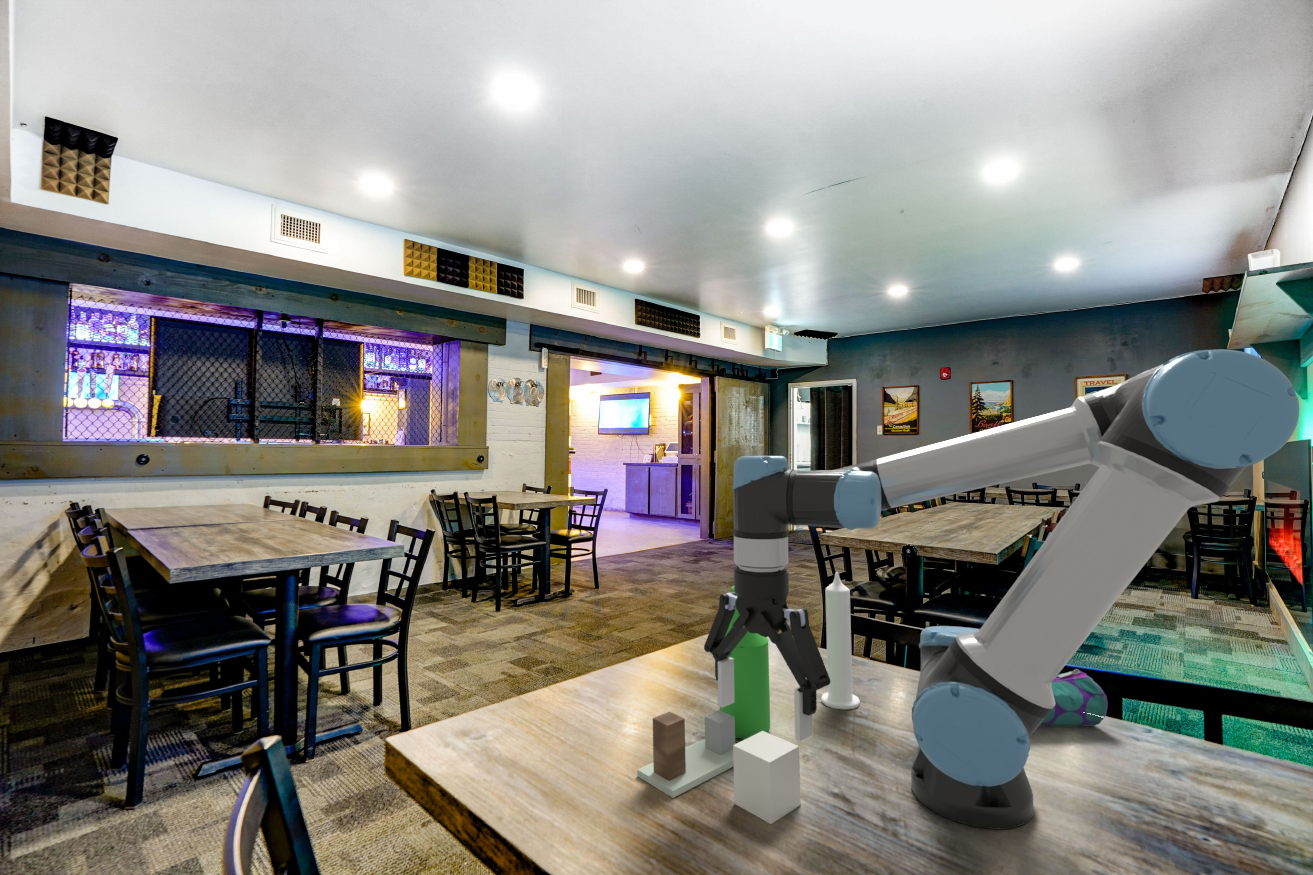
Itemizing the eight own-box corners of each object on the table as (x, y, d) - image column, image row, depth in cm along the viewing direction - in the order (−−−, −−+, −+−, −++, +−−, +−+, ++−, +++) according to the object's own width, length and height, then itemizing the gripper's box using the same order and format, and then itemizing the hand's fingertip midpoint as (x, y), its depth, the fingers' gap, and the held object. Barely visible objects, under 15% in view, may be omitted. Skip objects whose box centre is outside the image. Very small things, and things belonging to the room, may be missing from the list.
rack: (751, 756, 98) (750, 718, 98) (673, 797, 86) (672, 755, 87) (715, 739, 104) (714, 703, 104) (637, 775, 92) (636, 735, 93)
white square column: (800, 804, 84) (799, 746, 84) (771, 824, 80) (769, 762, 80) (764, 786, 89) (762, 730, 89) (734, 803, 85) (733, 745, 85)
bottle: (769, 743, 102) (766, 592, 102) (717, 739, 104) (714, 591, 104) (770, 720, 111) (767, 581, 111) (722, 716, 112) (719, 580, 113)
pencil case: (1072, 711, 112) (1070, 658, 112) (1110, 734, 103) (1108, 676, 103) (961, 716, 111) (959, 662, 111) (989, 739, 102) (987, 681, 102)
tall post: (685, 772, 91) (684, 718, 91) (668, 780, 89) (667, 725, 89) (670, 763, 94) (669, 711, 94) (653, 771, 92) (652, 718, 92)
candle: (863, 699, 119) (860, 570, 119) (854, 712, 113) (850, 576, 113) (827, 692, 123) (824, 567, 123) (816, 704, 117) (813, 573, 117)
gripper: (856, 576, 78) (858, 743, 78) (714, 551, 97) (715, 686, 97) (822, 585, 73) (824, 763, 73) (680, 557, 92) (681, 699, 92)
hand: (762, 719), depth 85 cm, fingers open, 13 cm apart
